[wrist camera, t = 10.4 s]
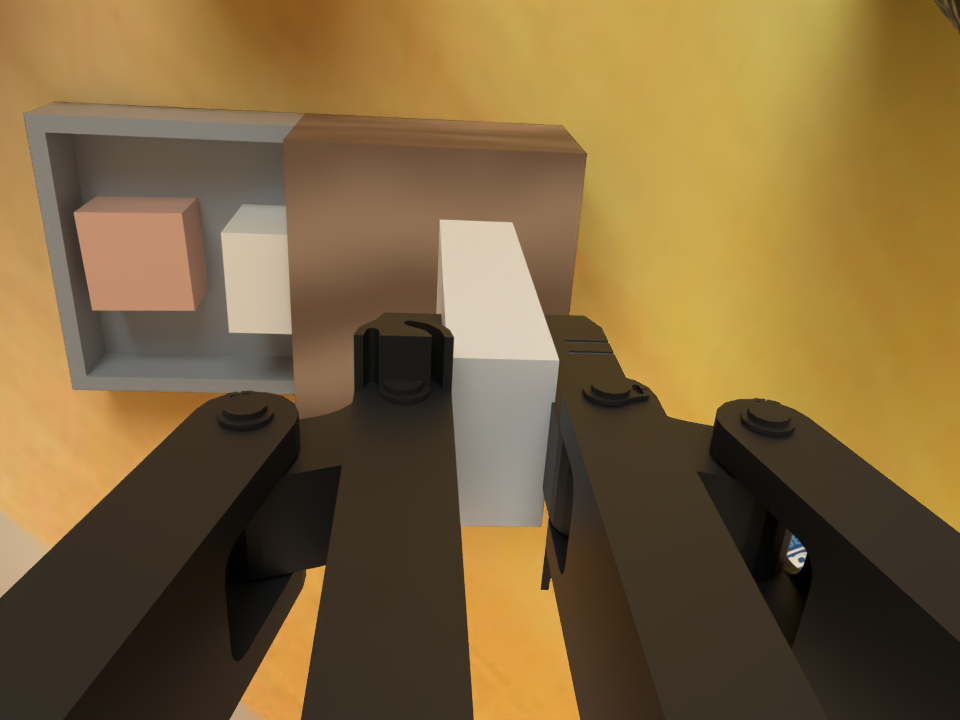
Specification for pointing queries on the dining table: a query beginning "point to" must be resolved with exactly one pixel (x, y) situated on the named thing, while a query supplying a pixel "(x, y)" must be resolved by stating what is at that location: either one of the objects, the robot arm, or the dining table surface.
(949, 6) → the jug
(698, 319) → the dining table surface
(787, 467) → the robot arm
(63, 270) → the grey box
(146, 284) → the terracotta tile
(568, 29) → the dining table surface
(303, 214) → the brown wooden block
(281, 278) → the cream square block
